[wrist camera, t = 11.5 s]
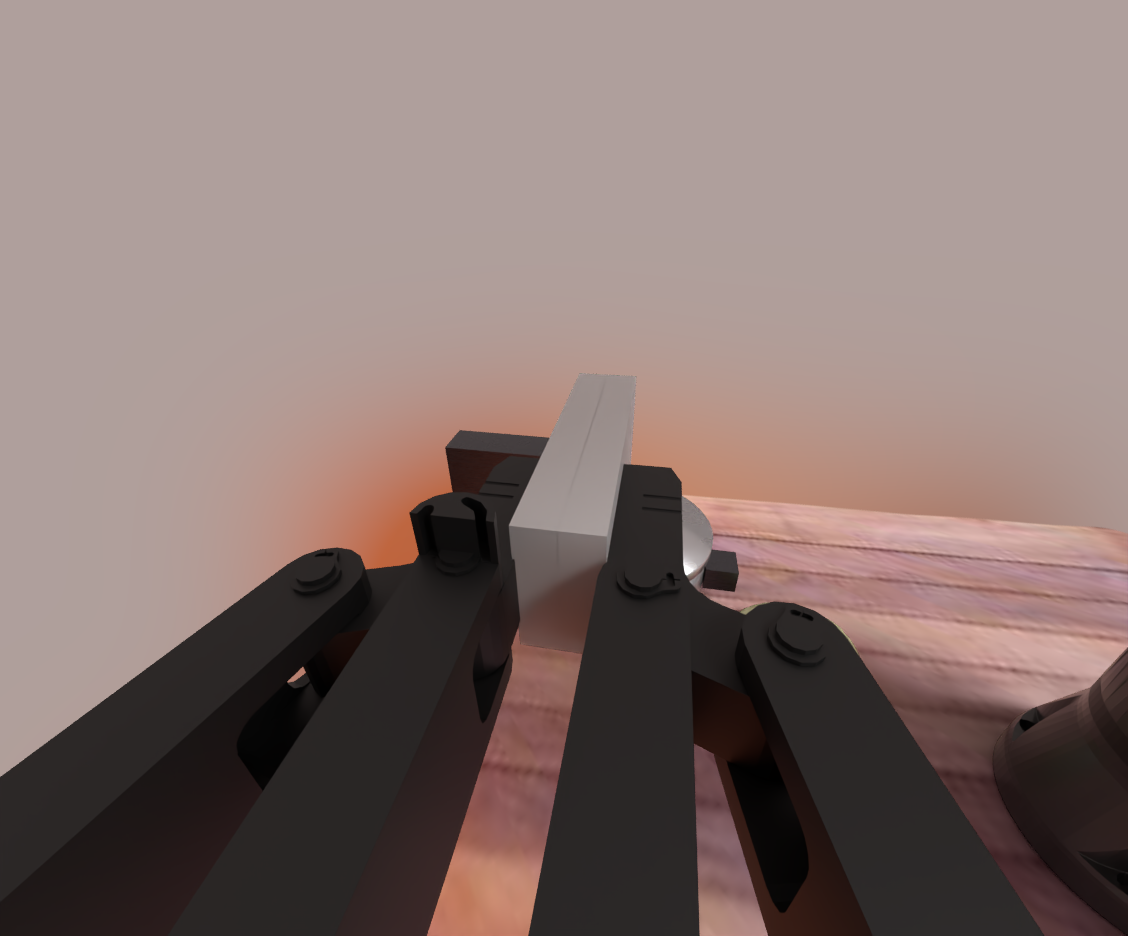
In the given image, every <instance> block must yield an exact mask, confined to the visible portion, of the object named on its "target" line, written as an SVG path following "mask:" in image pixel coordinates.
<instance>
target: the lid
mask: <svg viewBox="0 0 1128 936" xmlns="http://www.w3.org/2000/svg"><path fill="white" fill-rule="evenodd" d="M548 440H549V438H545V437H533V436H522V435H510V434H498V433H485V432H473V431H462V430H460V431H459V432H458V433H457V434H456V435H455V437H454V438H453V439H452V440H451V441H450V442H449V444H448V445H447V446H446V448H445V449H446V455H447V460H448V466H449V473H450V479H451V485H452V490H453V492H468V493H472V494H477V495H478V494H479V491H480V489H481V488H482V486H483V484H485V482H486V479H487V478H488V476H489V474H490V473H491V471H492V469H493V468H494V467H495V466H496V465H498V464H499V463H501V462H502V461H503V460H505V459H506V458H508V457H509V456H517V457H528V458H540V457H541V455H542V453H543V451H544V449H545V447H546V445H547V442H548ZM682 528H683V565H684V570H685V574H686V576H687V577H688V579H689V581H691V580H693V579H694V578H695V577H696V576H698V575H699V574H700V573H701V572H702V570H703V569H704V568H705V566H706V565H707V563H708V561H709V558H710V554H711V549H712V544H713V533H712V528H711V526H710V523H709V521H708V519H707V518H706V516H705V515H704V514H703V512H702V511H701V510H700V509H699V508H698V507H697V506H696V505H694V504H693V503H692V502H690V501H689V500H688V499H686V498H684V497H683V496H682Z"/></svg>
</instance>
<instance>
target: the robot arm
mask: <svg viewBox="0 0 1128 936" xmlns="http://www.w3.org/2000/svg"><path fill="white" fill-rule="evenodd" d="M635 389H636V376H620V375H600V374H582V373H580V374H579V376H578V378H577V380H576V383H575V385H574V387H573V389H572V391H571V393H570V395H569V398H568V399H567V402H566V404H565V406H564V408H563V410H562V412H561V415H560V417H559V419H558V421H557V423H556V425H555V427H554V430H553V432H552V434H551V436H550V438H549V440H548V442H547V445H546V447H545V449H544V451H543V453H542V455H541V457H540V458H528V457H517V456H509V457H508V458H506V459H505V460H503V461H502V462H501V463H499V464H498V465H496V466H495V467H494V468H493V469H492V471H491V473H490V474H489V476H488V478H487V479H486V482H485V484H483V486H482V488H481V489H480V491H479V494H478V495H477V494H472V493H468V492H452V493H447V494H443V495H438V496H434V497H432V498H430V499H428V500H426V501H424V502H422V503H420V504H419V505H418V506H416V508H414V509H413V510H412V511H411V512H410V517H411V521H412V526H413V530H414V534H415V539H416V543H417V547H418V552H419V555H418V557H417V558H416V560H415V561H414V563H411V564H406V565H401V566H393V567H384V568H376V569H367V570H365V567H364V564H363V561H362V559H361V556H360V555H358V554H357V553H355V552H354V551H352V550H349V549H343V548H330V549H320V550H317V551H315V552H312V553H309V554H306V555H303V556H301V557H299V558H298V559H296V560H294V561H293V562H291V563H289V564H287V565H286V566H285V567H283V568H282V569H281V570H279V571H278V572H277V573H275V574H274V575H273V576H271V577H270V578H269V579H267V580H266V581H265V582H263V583H262V584H260V585H259V586H258V587H256V588H255V589H254V590H252V591H251V592H250V593H249V594H247V595H246V596H244V597H243V598H242V599H240V600H239V601H238V602H236V603H235V604H233V605H232V606H231V607H229V608H228V609H227V610H225V611H224V612H223V613H221V614H220V615H219V616H217V617H216V618H214V619H213V620H212V621H211V622H209V623H208V624H206V625H205V626H204V627H202V628H201V629H200V630H198V631H197V632H196V633H194V634H193V635H192V636H190V637H189V638H187V639H186V640H185V641H183V642H182V643H181V644H179V645H178V646H177V647H175V648H174V649H173V650H171V651H170V652H169V653H167V654H166V655H165V656H163V657H162V658H160V659H159V660H158V661H156V662H155V663H154V664H152V665H151V666H150V667H148V668H147V669H146V670H144V671H143V672H142V673H140V674H139V675H137V676H136V677H135V678H133V679H132V680H131V681H129V682H128V683H127V684H125V685H124V686H123V687H121V688H120V689H119V690H117V691H116V692H115V693H114V694H112V695H110V696H109V697H108V698H106V699H105V700H104V701H102V702H101V703H100V704H98V705H97V706H96V707H94V708H93V709H92V710H90V711H89V712H88V713H86V714H85V715H83V716H82V717H81V718H79V719H78V720H77V721H75V722H74V723H73V724H71V725H70V726H69V727H67V728H66V729H65V730H63V731H62V732H61V733H59V734H58V735H57V736H55V737H54V738H53V739H51V740H50V741H48V742H47V743H46V744H44V745H43V746H42V747H40V748H39V749H38V750H36V751H35V752H33V753H32V754H31V755H30V756H28V757H27V758H25V759H24V760H23V761H21V762H20V763H19V764H17V765H16V766H15V767H13V768H12V769H11V770H9V771H8V772H6V773H5V774H4V775H3V776H1V777H0V936H427V933H428V930H429V927H430V924H431V921H432V918H433V915H434V911H435V908H436V905H437V902H438V899H439V896H440V893H441V890H442V887H443V883H444V880H445V877H446V874H447V871H448V868H449V865H450V862H451V859H452V855H453V852H454V849H455V846H456V843H457V840H458V837H459V834H460V830H461V827H462V824H463V821H464V818H465V815H466V812H467V809H468V806H469V802H470V799H471V796H472V793H473V790H474V787H475V784H476V781H477V778H478V774H479V771H480V768H481V765H482V762H483V759H484V756H485V753H486V750H487V746H488V743H489V740H490V737H491V734H492V731H493V728H494V725H495V722H496V718H497V715H498V712H499V709H500V706H501V703H502V700H503V697H504V694H505V690H506V687H507V684H508V681H509V678H510V675H511V671H512V661H513V659H512V650H511V646H512V643H513V640H514V638H515V635H516V632H517V629H518V626H519V636H520V644H523V645H529V646H536V647H542V648H549V649H555V650H561V651H568V652H574V653H581V654H583V655H582V660H581V665H580V670H579V676H578V681H577V686H576V691H575V696H574V702H573V707H572V712H571V717H570V722H569V728H568V733H567V738H566V743H565V748H564V754H563V759H562V764H561V769H560V774H559V780H558V785H557V790H556V795H555V800H554V805H553V811H552V816H551V821H550V826H549V831H548V837H547V842H546V847H545V852H544V857H543V863H542V868H541V873H540V878H539V883H538V889H537V894H536V899H535V904H534V909H533V914H532V920H531V925H530V930H529V935H528V936H700V935H699V903H698V871H697V838H696V806H695V774H694V744H696V745H698V746H700V747H702V748H704V749H706V750H708V751H709V752H711V753H713V754H714V757H715V761H716V764H717V767H718V771H719V774H720V777H721V780H722V784H723V787H724V790H725V794H726V797H727V800H728V804H729V807H730V810H731V814H732V817H733V820H734V824H735V827H736V830H737V834H738V837H739V840H740V844H741V847H742V850H743V854H744V857H745V860H746V864H747V867H748V870H749V874H750V877H751V880H752V884H753V887H754V890H755V894H756V897H757V900H758V904H759V907H760V910H761V913H762V917H763V920H764V923H765V927H766V930H767V933H768V936H1044V934H1043V933H1042V931H1041V930H1040V928H1039V927H1038V925H1037V924H1036V922H1035V921H1034V919H1033V918H1032V916H1031V915H1030V913H1029V912H1028V910H1027V909H1026V907H1025V906H1024V904H1023V902H1022V901H1021V899H1020V898H1019V896H1018V895H1017V893H1016V892H1015V890H1014V889H1013V887H1012V886H1011V884H1010V883H1009V881H1008V880H1007V878H1006V877H1005V875H1004V874H1003V872H1002V871H1001V869H1000V868H999V866H998V865H997V863H996V862H995V860H994V859H993V857H992V856H991V854H990V853H989V851H988V850H987V848H986V847H985V845H984V844H983V842H982V841H981V839H980V838H979V836H978V835H977V833H976V832H975V830H974V829H973V827H972V826H971V824H970V823H969V821H968V820H967V818H966V817H965V815H964V814H963V812H962V810H961V809H960V807H959V806H958V804H957V803H956V801H955V800H954V798H953V797H952V795H951V794H950V792H949V791H948V789H947V788H946V786H945V785H944V783H943V782H942V780H941V779H940V777H939V776H938V774H937V773H936V771H935V770H934V768H933V767H932V765H931V764H930V762H929V761H928V759H927V758H926V756H925V755H924V753H923V752H922V750H921V749H920V747H919V746H918V744H917V743H916V741H915V740H914V738H913V737H912V735H911V734H910V732H909V731H908V729H907V728H906V726H905V725H904V723H903V722H902V720H901V718H900V717H899V715H898V714H897V712H896V711H895V709H894V708H893V706H892V705H891V703H890V702H889V700H888V699H887V697H886V696H885V694H884V693H883V691H882V690H881V688H880V687H879V685H878V684H877V682H876V681H875V679H874V678H873V676H872V675H871V673H870V672H869V670H868V669H867V667H866V666H865V664H864V663H863V661H862V660H861V658H860V657H859V655H858V654H857V652H856V651H855V649H854V648H853V646H852V645H851V643H850V642H849V640H848V639H847V637H846V636H845V635H844V634H843V633H842V632H841V631H840V630H839V629H838V628H837V626H836V625H835V624H834V623H833V622H831V621H829V620H828V619H826V618H825V617H823V616H822V615H820V614H819V613H817V612H816V611H814V610H811V609H808V608H805V607H803V606H800V605H797V604H794V603H784V602H770V603H766V604H761V605H758V606H756V607H755V608H754V609H752V610H751V611H750V612H748V613H747V614H746V615H745V614H743V613H740V612H738V611H735V610H732V609H730V608H727V607H725V606H722V605H720V604H718V603H716V602H714V601H712V600H710V599H708V598H707V597H706V596H704V595H703V594H701V593H700V592H699V591H698V590H697V589H696V588H695V587H694V586H693V585H692V584H691V583H690V581H689V579H688V577H687V576H686V574H685V570H684V565H683V528H682V488H681V487H682V486H681V481H680V480H679V478H678V477H677V476H676V474H675V473H674V471H673V470H672V469H671V468H665V467H654V466H642V465H631V451H632V434H633V420H634V405H635ZM302 667H304V669H305V671H306V673H305V674H304V675H303V676H301V677H300V678H299V679H297V680H296V681H294V682H290V683H288V682H287V681H288V680H289V679H290V678H291V677H292V676H294V675H295V674H296V673H297V672H298V671H299V670H300V668H302ZM993 768H994V774H995V778H996V782H997V785H998V788H999V791H1000V793H1001V796H1002V798H1003V800H1004V802H1005V804H1006V807H1007V808H1008V810H1009V812H1010V814H1011V816H1012V817H1013V819H1014V821H1015V822H1016V824H1017V825H1018V827H1019V828H1020V830H1021V831H1022V833H1023V834H1024V836H1025V837H1026V838H1027V840H1028V841H1029V842H1030V844H1031V845H1032V846H1033V848H1034V849H1035V850H1036V851H1037V853H1038V854H1039V855H1040V856H1041V857H1042V859H1043V860H1044V861H1045V862H1046V863H1047V864H1048V865H1049V866H1050V868H1051V869H1052V870H1053V871H1054V872H1055V873H1056V874H1057V875H1058V876H1059V877H1060V878H1061V879H1062V880H1063V881H1064V882H1065V883H1066V884H1067V885H1068V886H1069V887H1070V888H1071V889H1072V890H1073V891H1074V892H1075V893H1076V894H1077V895H1078V896H1080V897H1081V898H1082V899H1083V900H1084V901H1085V902H1086V903H1087V904H1089V905H1090V906H1091V907H1092V908H1093V909H1094V910H1096V911H1097V912H1098V913H1099V914H1100V915H1102V916H1103V917H1104V918H1105V919H1107V920H1108V921H1109V922H1110V923H1112V924H1113V925H1114V926H1116V927H1117V928H1118V929H1120V930H1121V931H1122V932H1124V933H1125V934H1127V935H1128V648H1127V649H1126V650H1125V651H1124V652H1123V653H1122V654H1121V655H1120V656H1119V657H1118V658H1117V659H1116V660H1115V661H1114V663H1113V664H1112V665H1111V666H1110V667H1109V668H1108V669H1107V670H1106V671H1105V672H1104V673H1103V675H1102V676H1101V677H1100V678H1099V679H1098V680H1097V681H1096V682H1095V683H1094V684H1093V685H1092V686H1091V687H1090V688H1088V689H1085V690H1082V691H1079V692H1077V693H1074V694H1071V695H1068V696H1065V697H1063V698H1060V699H1057V700H1054V701H1052V702H1049V703H1046V704H1043V705H1041V706H1038V707H1035V708H1033V709H1030V710H1028V711H1026V712H1024V713H1022V714H1021V715H1020V716H1018V717H1017V718H1016V719H1015V720H1014V721H1013V722H1012V723H1011V724H1010V725H1009V726H1008V728H1007V729H1006V730H1005V731H1004V733H1003V734H1002V735H1001V736H1000V738H999V739H998V741H997V743H996V746H995V749H994V754H993Z"/></svg>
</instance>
